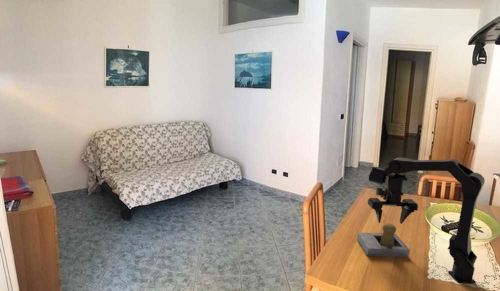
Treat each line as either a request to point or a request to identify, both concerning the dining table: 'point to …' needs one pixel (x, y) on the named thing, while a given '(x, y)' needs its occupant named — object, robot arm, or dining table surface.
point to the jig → (375, 249)
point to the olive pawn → (388, 235)
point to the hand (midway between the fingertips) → (389, 222)
